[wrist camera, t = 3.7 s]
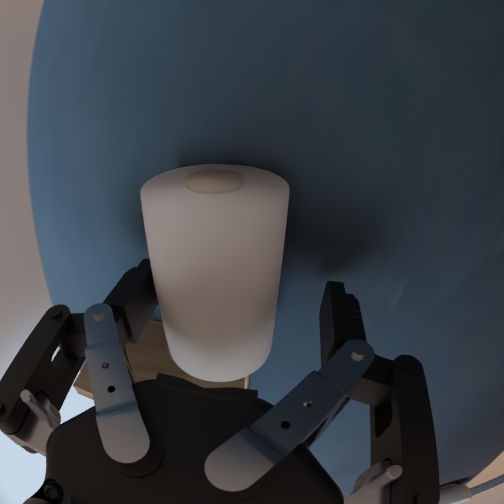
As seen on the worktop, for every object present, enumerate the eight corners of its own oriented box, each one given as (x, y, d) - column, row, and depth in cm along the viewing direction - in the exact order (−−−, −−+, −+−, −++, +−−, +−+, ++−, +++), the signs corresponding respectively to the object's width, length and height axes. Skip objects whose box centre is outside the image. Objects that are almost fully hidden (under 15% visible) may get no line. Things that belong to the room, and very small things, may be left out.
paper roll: (277, 159, 13) (157, 160, 13) (306, 208, 9) (119, 210, 8) (265, 306, 18) (174, 307, 18) (277, 382, 14) (163, 383, 13)
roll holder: (118, 312, 20) (72, 385, 14) (252, 339, 19) (231, 434, 13) (152, 400, 27) (130, 455, 21) (245, 421, 26) (232, 482, 20)
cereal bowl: (445, 481, 41) (446, 504, 36) (480, 473, 42) (482, 494, 36) (401, 498, 51) (401, 519, 45) (439, 493, 51) (440, 511, 45)
